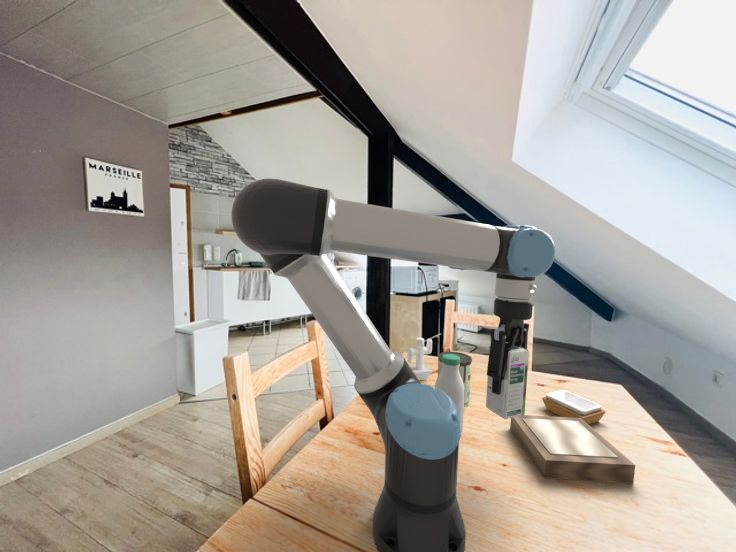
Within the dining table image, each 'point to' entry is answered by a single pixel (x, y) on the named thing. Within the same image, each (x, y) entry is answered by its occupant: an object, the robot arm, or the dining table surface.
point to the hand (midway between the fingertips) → (504, 401)
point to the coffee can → (461, 372)
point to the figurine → (420, 358)
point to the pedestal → (570, 449)
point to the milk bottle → (452, 383)
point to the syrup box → (512, 384)
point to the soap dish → (573, 406)
